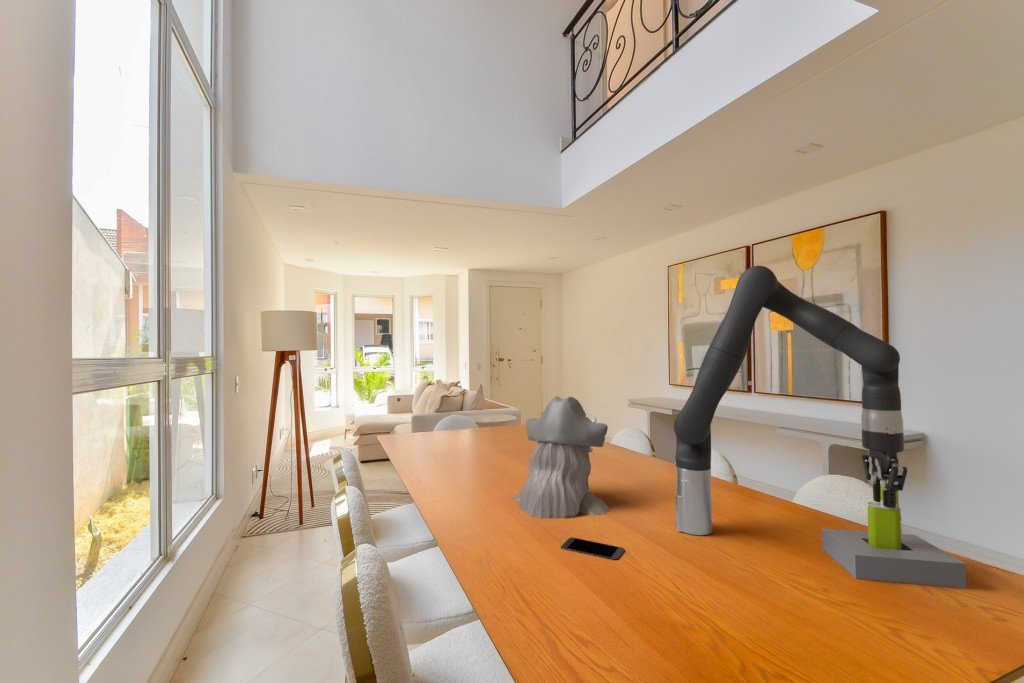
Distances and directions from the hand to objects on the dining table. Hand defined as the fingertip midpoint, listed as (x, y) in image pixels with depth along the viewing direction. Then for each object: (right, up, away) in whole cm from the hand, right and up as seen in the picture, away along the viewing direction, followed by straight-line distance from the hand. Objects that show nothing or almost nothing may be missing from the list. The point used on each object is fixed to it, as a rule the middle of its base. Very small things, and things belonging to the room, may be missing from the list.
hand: (884, 504), depth 104 cm
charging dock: (0, -14, -1) cm, 14 cm away
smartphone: (-65, -15, +9) cm, 68 cm away
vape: (0, -13, 0) cm, 13 cm away
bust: (-69, -17, +47) cm, 85 cm away
